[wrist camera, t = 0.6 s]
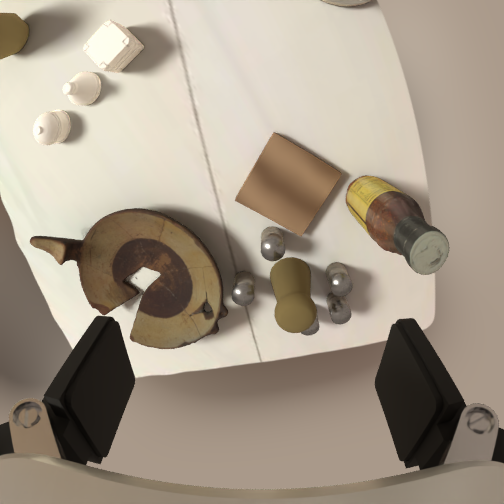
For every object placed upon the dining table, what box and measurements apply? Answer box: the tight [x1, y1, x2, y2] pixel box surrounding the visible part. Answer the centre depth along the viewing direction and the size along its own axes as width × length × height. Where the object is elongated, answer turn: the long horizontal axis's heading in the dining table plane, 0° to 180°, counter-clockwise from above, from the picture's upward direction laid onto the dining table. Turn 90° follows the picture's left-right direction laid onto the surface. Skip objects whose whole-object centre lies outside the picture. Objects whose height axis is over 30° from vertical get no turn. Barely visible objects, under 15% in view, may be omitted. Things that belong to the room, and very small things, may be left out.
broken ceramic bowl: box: [30, 208, 228, 349], centre depth 43 cm, size 22×30×8 cm
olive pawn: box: [270, 257, 317, 333], centre depth 42 cm, size 6×6×11 cm
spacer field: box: [232, 227, 352, 335], centre depth 45 cm, size 11×17×4 cm, turn 61°
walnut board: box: [235, 133, 342, 236], centre depth 40 cm, size 10×10×2 cm
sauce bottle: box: [346, 176, 449, 275], centre depth 32 cm, size 7×6×20 cm
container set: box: [33, 20, 144, 145], centre depth 33 cm, size 20×5×6 cm, turn 130°
